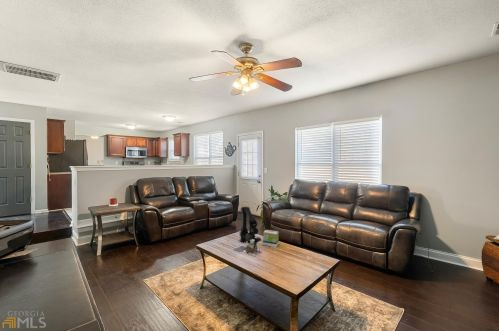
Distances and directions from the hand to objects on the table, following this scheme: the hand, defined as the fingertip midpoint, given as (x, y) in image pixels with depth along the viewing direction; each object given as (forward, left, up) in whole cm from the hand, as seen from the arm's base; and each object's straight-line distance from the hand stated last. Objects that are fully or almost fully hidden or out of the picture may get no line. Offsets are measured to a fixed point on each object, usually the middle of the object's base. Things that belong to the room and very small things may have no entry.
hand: (251, 246), depth 228 cm
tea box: (+7, +25, -5) cm, 26 cm away
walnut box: (0, 0, -4) cm, 4 cm away
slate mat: (-11, -4, -4) cm, 12 cm away
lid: (0, 0, +1) cm, 1 cm away
